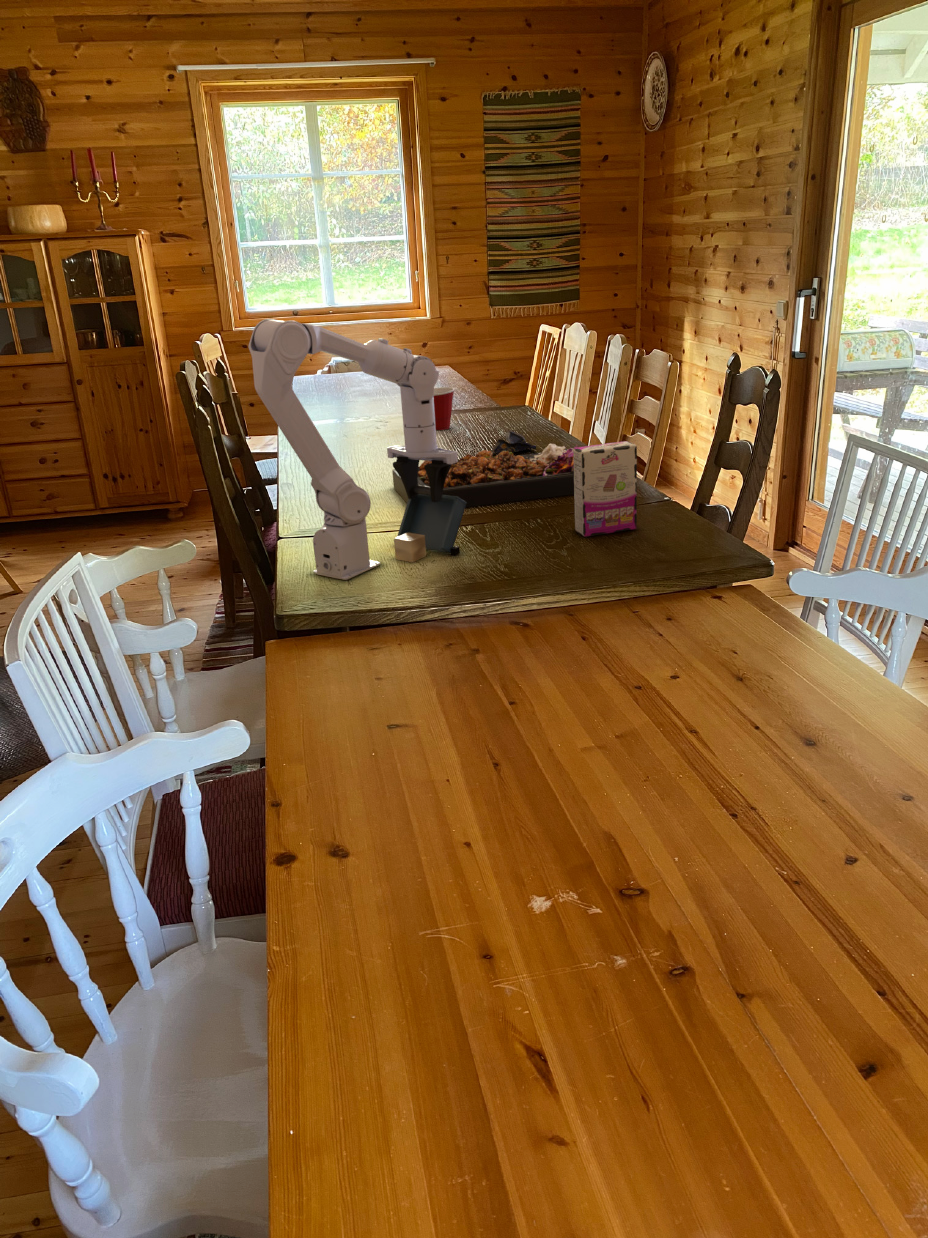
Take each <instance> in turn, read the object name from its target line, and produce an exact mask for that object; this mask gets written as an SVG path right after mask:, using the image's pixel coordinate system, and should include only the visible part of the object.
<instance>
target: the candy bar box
mask: <svg viewBox="0 0 928 1238" xmlns="http://www.w3.org/2000/svg"><path fill="white" fill-rule="evenodd" d="M572 448H573V457H574V494H573V495H574V496H573V498H574V530H575V532H576V533H578V534H580V536H583V537H584V538H585V537H586V538H587V537H593V536H600V535H601V536H602V535H606V534H614V533H620V532H626V531H633V530H637V527H638V525H637V523H638V521H637V520H638V519H637V517H638V515H637V511H638V510H637V508H638V506H637V502H638V501H637V500H638V497H637V496H638V494H637V493H638V491H637V490H638V487H637V486H638V484H637V483H638V445H637V444H635V443H632V442H630V441H628V440H626V441H625V440H624V441H616V442H608V443H602V444H593V445H585V446H577V447H576V448H575V447H572Z"/></svg>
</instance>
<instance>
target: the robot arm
mask: <svg viewBox="0 0 928 1238" xmlns="http://www.w3.org/2000/svg"><path fill="white" fill-rule="evenodd" d="M247 347H248V350H249V353H250V355H251V360H252V373H253V384H254V389H255V391H256V394H257V395H258V397H259V398H260V400H261V401H262V403H263V404H264V407H265V408H266V409H267V411H268V413H269V414H270V416H271V417H272V419H273V420H274V421H275V423H276V424H277V426H278V428H279V430H280V431H281V432H282V435H283V436H284V438H285V439H286V441H287V442H288V443H289V445H290V446H291V448H292V450H293V451H294V453H295V454H296V456H297V458H298V459H299V461H300V462H301V464H302V466H303V467H304V468H305V469H306V471H307V473H308V475H309V476H310V478H311V481H310V486H311V487H312V489H313V490H314V491H313V492H314V493H315V499H316V500H315V501H316V504H317V506H318V508H319V509H320V510H321V511H322V512H323V513H324V514H323V522H324V523H323V525H322V526H321V528H320V529H318V530H317V531H315V532H314V534H313V538H312V548H313V553H314V554H313V555H314V563H315V569H314V570H313V574H314V575H319V576H322V577H323V576H324V577H328V578H333V579H339V580H343V581H348V580H351V579H352V578H354V577H356V576H359V575H361V574H363V573H365V572H368V571H369V570H372V569H374V568H376V567H379V566H380V565H381V562H380V561H377V560H371V559H370V551H369V539H368V530H367V529H368V528H367V520H366V517H368V514H369V512H370V510H371V505H372V503H371V497H370V494H369V493H368V492H367V491H366V490H365V489H364V488H362V487H360V486H359V485H357V484H356V482H355V480H354V479H353V478H352V477H351V476H350V475H349V474H348V473H347V471H345V469H343V468H342V467H341V465H340V463H338V461H337V459H336V458H335V456H334V454H333V453H332V451H331V449H330V448H329V447H328V444H327V443H326V441H325V439H324V438H323V436H322V435H321V433H320V432H319V430H318V428H317V427H316V425H315V424H314V422H313V420H312V419H311V417H310V415H309V414H308V413H307V411H306V409H305V408H304V406H303V404H302V402H301V401H300V399H299V397H298V396H297V395H296V393H295V391H294V389H293V388H292V384H293V382H294V378H295V375H296V373H297V371H298V370H299V368H300V367H301V365H302V363H303V362H304V361H305V359H306V357H307V356H308V355H315V354H317V353H319V352H322V353H325V354H329V355H332V356H336V357H339V358H341V359H346V360H349V361H352V362H356V363H357V364H358V365H359V367H360V369H361V371H362V372H363V374H366V375H369V376H372V377H375V378H378V379H381V380H384V381H387V382H390V383H393V384H396V385H397V386H398V387H399V390H400V401H401V413H402V414H401V415H402V425H403V426H402V427H403V439H404V445H391V446H388V447H386V452H387V454H386V455H387V459H394V458H395V459H396V461H393V462H392V467H393V469H395V470H396V471H397V473H398V474H399V476H400V478H401V480H402V482H403V485H404V487H405V490H406V493H407V496H408V499H413V498H415V497H418V494H416V493H414V491H413V489H414V486H415V485H418V467H419V466H420V461H423V462H424V461H432V463H430V464H427V465H424V468H425V470H426V473H427V476H428V480H429V484H430V493H431V499H432V502H437V501H440V500H442V493H443V488H444V484H445V480H446V477H447V474H448V472H449V470H450V468H451V466H452V464H453V463H456V462H458V460H459V459H458V451H456V450H450V449H445V448H441V447H439V445H438V442H437V430H436V426H435V411H434V397H433V395H434V388H435V387H436V384H437V382H438V380H439V375H440V371H439V370H437V368H436V365H435V363H434V362H433V361H432V359H431V358H430V357H428V356H424V355H418V354H413V353H412V349H410V348H407V347H404V348H403V349H402V348H399V347H396V346H393V345H391V344H389V340H388V339H386V338H380V337H379V338H378V339H371V340H369V341H367V342H366V343H363V342H359V341H357V340H355V339H352V338H349V337H347V336H344V335H342V334H340V333H337V332H335V331H332V330H329V329H327V328H324V327H322V326H320V325H314V324H311V323H310V324H309V323H301V322H298V321H296V320H290V319H289V320H278V319H274V318H265V319H263V320H260V321H259V322H258V323H256V325H255V327H254V328H253V330H252V334H251V336H250V340H249V343H248V346H247Z"/></svg>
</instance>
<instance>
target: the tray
mask: <svg viewBox="0 0 928 1238" xmlns="http://www.w3.org/2000/svg"><path fill="white" fill-rule="evenodd" d="M413 491H414V493H416V494H418V497H415V498H413V499H408V502H407V503H406V506H405V510H404V513H403V515H402V519H401V522H400V524H399V525H400V527H399V529H398V532H397V535H396V537H398V536H400V535H403V534H405V533H414V534H420V535H425V547H426V551H433V552H439V553H445V554H450V555H451V549H450V548H452V547H454V546H455V543H456V540H457V536H458V533H459V530H460V527H461V526H460V525H461V523H462V520H463V516H464V513H465V509H466V508H465V506H466V502H465V501H463V500H462V499H460V498H459V497H455V496H448V495H442V500H440V501H437V502H432V499H431V493H430V486H422V485H415V486H414V489H413Z"/></svg>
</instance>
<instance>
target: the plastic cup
mask: <svg viewBox="0 0 928 1238" xmlns="http://www.w3.org/2000/svg"><path fill="white" fill-rule="evenodd" d="M455 390H456V388H455V387H453V386H441V387H434V395H433V397H434V411H435V426H436V431H444V430H448V429H450V426H451V419H452V411H453V400H454V393H455Z"/></svg>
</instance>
